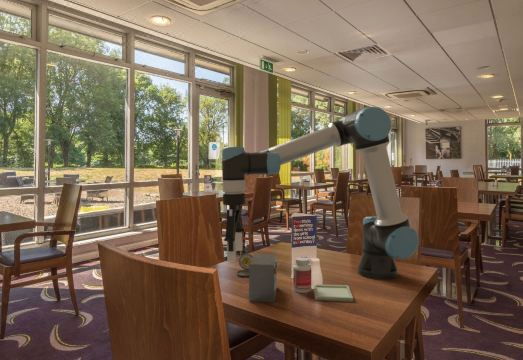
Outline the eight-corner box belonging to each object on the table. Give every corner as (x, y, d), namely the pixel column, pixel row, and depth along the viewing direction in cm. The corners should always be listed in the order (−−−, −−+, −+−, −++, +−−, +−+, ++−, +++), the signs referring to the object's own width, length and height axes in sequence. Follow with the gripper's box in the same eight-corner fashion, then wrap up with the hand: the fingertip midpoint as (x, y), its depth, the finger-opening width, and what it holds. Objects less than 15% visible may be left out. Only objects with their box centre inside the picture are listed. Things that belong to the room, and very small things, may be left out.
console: (278, 287, 131) (278, 253, 131) (276, 302, 117) (276, 264, 117) (253, 286, 132) (253, 253, 131) (247, 301, 118) (247, 264, 117)
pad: (348, 288, 130) (348, 285, 130) (353, 301, 118) (353, 297, 118) (313, 287, 131) (313, 284, 131) (315, 300, 119) (315, 296, 119)
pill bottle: (314, 291, 127) (315, 259, 127) (301, 294, 124) (301, 262, 123) (303, 286, 133) (303, 255, 132) (289, 289, 129) (289, 258, 129)
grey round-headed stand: (240, 278, 142) (240, 252, 141) (232, 272, 150) (232, 247, 149) (259, 275, 145) (259, 250, 145) (251, 269, 153) (251, 245, 152)
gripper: (229, 189, 137) (230, 246, 138) (214, 196, 112) (216, 265, 113) (249, 189, 136) (250, 246, 137) (239, 196, 111) (240, 266, 112)
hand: (235, 255), depth 125 cm, fingers open, 13 cm apart
